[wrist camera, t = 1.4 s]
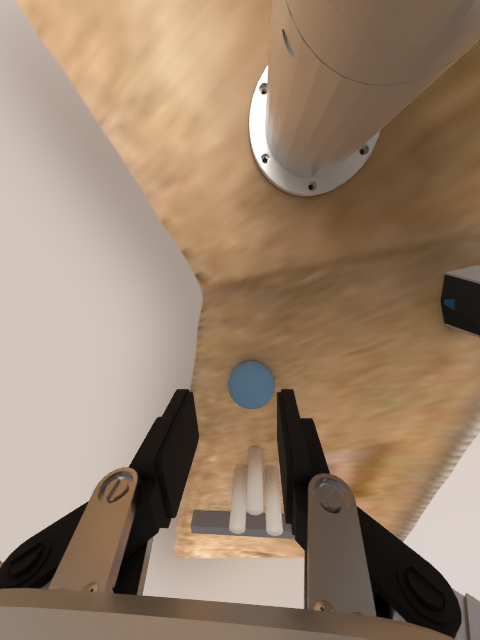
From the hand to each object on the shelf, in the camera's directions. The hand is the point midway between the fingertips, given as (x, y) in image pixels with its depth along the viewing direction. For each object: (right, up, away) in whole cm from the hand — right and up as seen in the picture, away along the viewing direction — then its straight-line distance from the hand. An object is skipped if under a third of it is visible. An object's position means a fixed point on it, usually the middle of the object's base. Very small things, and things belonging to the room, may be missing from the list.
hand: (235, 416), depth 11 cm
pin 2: (+5, -21, +27) cm, 35 cm away
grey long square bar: (+4, -32, +31) cm, 45 cm away
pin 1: (0, -21, +28) cm, 35 cm away
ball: (+2, -4, +18) cm, 19 cm away
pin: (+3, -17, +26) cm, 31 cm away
